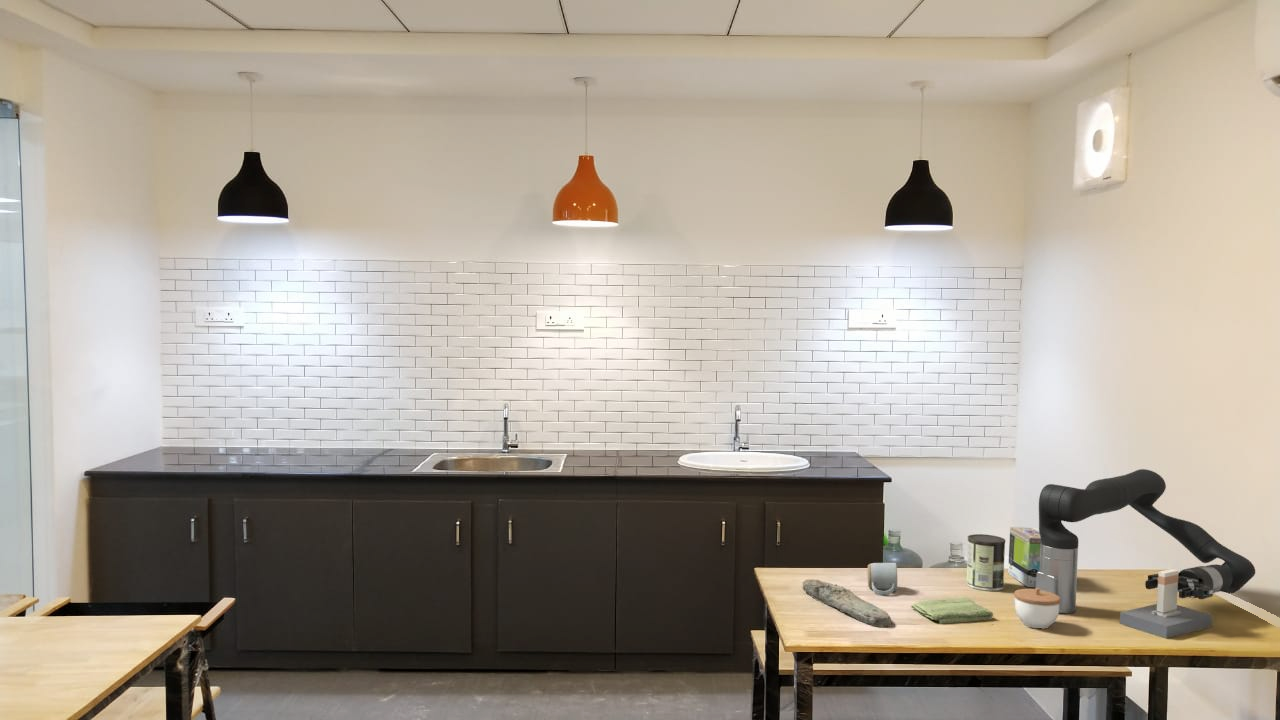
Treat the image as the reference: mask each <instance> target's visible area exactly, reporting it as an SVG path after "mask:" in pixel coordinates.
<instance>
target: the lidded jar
mask: <svg viewBox="0 0 1280 720" xmlns="http://www.w3.org/2000/svg"><path fill="white" fill-rule="evenodd" d="M1013 595H1014V608H1015V613H1016V615H1017V617H1018V619H1020V621H1021V622H1022V624H1023V623H1024V624H1025V625H1024V624H1023V625H1024V626H1026V625H1027V626H1026V627H1028V626H1030V627H1029V628H1031V627H1033V628H1032V629H1037V628H1042V629H1041V630H1043V629H1044V630H1045V628H1046V629H1048V627H1049V628H1050V626H1052V625H1053V624H1054V623H1055V622H1056V621H1057V618H1058V616H1059V614H1060V613H1059V605H1060V597H1059V596H1058V595H1056V594H1054V593H1051V592H1048V591H1044V590H1040V589H1039V588H1036V587H1034V588H1021V589H1017V590H1015V591H1014V593H1013Z"/></svg>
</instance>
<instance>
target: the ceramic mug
mask: <svg viewBox="0 0 1280 720" xmlns="http://www.w3.org/2000/svg"><path fill="white" fill-rule="evenodd" d="M867 587H868V588H870V589H872V590H873V592H874V593H875V594H877V595H879V596H889V595H891V594H893V592H894V591H895V592H896V591H897V590H898V567H897V563H896V562H873V563H869V564H868V565H867Z"/></svg>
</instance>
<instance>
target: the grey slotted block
mask: <svg viewBox="0 0 1280 720" xmlns="http://www.w3.org/2000/svg"><path fill="white" fill-rule="evenodd" d="M1156 614H1157V603H1155V604H1151V605H1147V606H1142V607H1138V608H1137V607H1136V608H1133V609H1129V610H1124V611H1120V613H1119V615H1120V617H1119V624H1120V625H1122V624H1124V625H1123V626H1125V625H1127V626H1126V627H1129V626H1130V628H1131V629H1135V628H1136V629H1135V630H1139V631H1142V632H1145V633H1148V634H1151V635H1154V636H1158V637H1161V638H1163V639H1169V638H1173V637H1176V636H1177V637H1178V636H1181V635H1185V634H1189V633H1193V632H1195V631H1199V630H1203V629H1208V628H1211V627H1213V614H1211V613H1208V612H1204V611H1200V610H1196V609H1194V608H1190V607H1186V606H1183V605H1179V604H1177V611H1176V612H1173V613H1169V614H1165V615H1163V617H1162V616H1159V615H1156Z"/></svg>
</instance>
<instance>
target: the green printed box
mask: <svg viewBox="0 0 1280 720" xmlns="http://www.w3.org/2000/svg"><path fill="white" fill-rule="evenodd" d="M1040 548H1041V537H1040V533H1039V527H1022V526H1021V527H1019V526H1017V527H1016V526H1012V527H1011V526H1010V529H1009V545H1008V564H1007V566H1008V567H1007V568H1008V569H1007V574H1009V575H1010V576H1011V577H1013V578H1014V579H1016V580H1017V581H1019V582H1020V583H1022V584H1023V585H1024V586H1026V587H1027V588H1036V577H1037V572H1039V571H1040Z"/></svg>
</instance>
